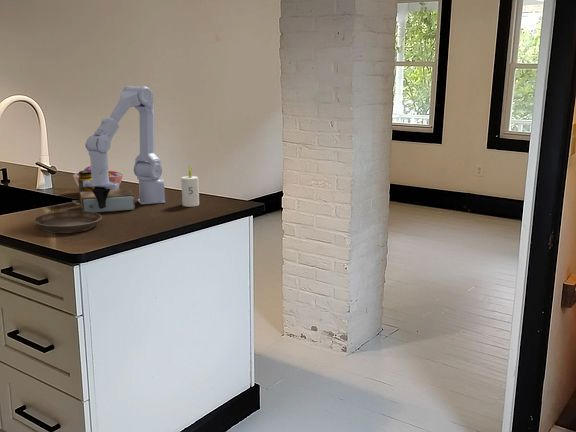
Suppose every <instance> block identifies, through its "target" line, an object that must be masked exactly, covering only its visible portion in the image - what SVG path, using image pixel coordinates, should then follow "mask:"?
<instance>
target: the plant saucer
mask: <svg viewBox="0 0 576 432" xmlns="http://www.w3.org/2000/svg"><path fill="white" fill-rule="evenodd" d="M102 217H103V215H101V214H100V213H99V212H97V213H94V212H87V211H82V210H67V211H59V212H58V211H56V212H50V213H45V214H42V215H39V216H37V217H36V218H35V219H34V223H35V224H36V225H37V226H38V228H40V229H42V230H43V231H44V232H47V233H53V234H71V233H72V234H73V232H74V233H79V232H85V231H88V230H91V229H93V228H94V227H96V226H98V225H99V223H100V221H101V220H102Z"/></svg>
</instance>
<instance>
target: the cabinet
mask: <svg viewBox="0 0 576 432" xmlns="http://www.w3.org/2000/svg"><path fill="white" fill-rule="evenodd" d="M80 195H81V204H80V206H81V211H84V202H83V200H85V199H97V198H96V196H95V195H94V193H93V192H92V191H90V192H80V194H79V196H80ZM130 196H133V197H134V198H135V194H134V192H133V191H132V189H130V188H127V189H126V188H124V189H117V190H110V191H109V193H108V196H107V198H115V197H130ZM133 205H135V200H134V201H133ZM135 209H136V207H135V208H134V209H130V210H129V211H134V210H135ZM121 211H124V210H117V211H116V212H121ZM107 212H111V211H103V212H102V213H107ZM94 213H98V212H94Z"/></svg>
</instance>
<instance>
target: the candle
mask: <svg viewBox="0 0 576 432" xmlns="http://www.w3.org/2000/svg"><path fill="white" fill-rule="evenodd" d="M180 180H181V195H182V196H181V201H182V202H181V203H182V206H183V207H189V208H191V207H197V206H200V190H199V187H200V186H199V182H200V181H199V177H198V176H196V175H193V171H192V167H191V165H190V164H189V165H188V175H187V176H182V177H181V179H180Z"/></svg>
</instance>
